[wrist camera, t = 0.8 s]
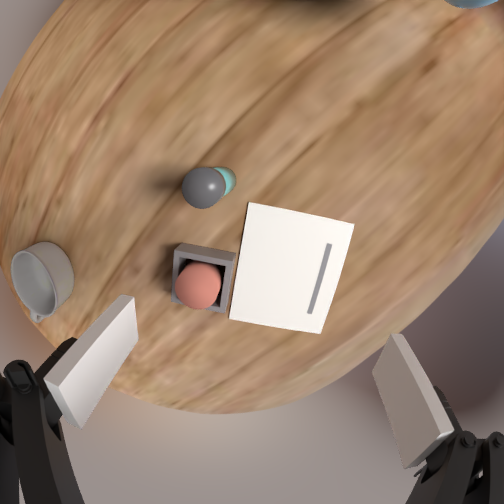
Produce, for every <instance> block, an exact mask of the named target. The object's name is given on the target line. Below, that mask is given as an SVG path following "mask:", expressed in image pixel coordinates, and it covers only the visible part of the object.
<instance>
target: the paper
mask: <svg viewBox="0 0 504 504" xmlns="http://www.w3.org/2000/svg"><path fill="white" fill-rule="evenodd" d="M353 228H354V224H352V223H347V222H343V221H339V220H334V219H330V218H325V217H321V216H316V215H312V214H307V213H302V212H297V211H293V210H288V209H283V208H278V207H273V206H267V205H262V204H257V203H251V202H249V205H248V211H247V216H246V222H245V228H244V233H243V239H242V245H241V251H240V257H239V262H238V268H237V274H236V280H235V286H234V292H233V298H232V304H231V310H230V316H229V319H234V320H239V321H244V322H249V323H255V324H261V325H266V326H272V327H278V328H284V329H291V330H297V331H304V332H311V333H319V334H320V333H321V330H322V328H323V325H324V322H325V319H326V316H327V314H328V311H329V308H330V305H331V302H332V299H333V296H334V293H335V290H336V287H337V284H338V280H339V277H340V274H341V271H342V267H343V264H344V261H345V257H346V254H347V250H348V247H349V243H350V239H351V236H352V232H353Z"/></svg>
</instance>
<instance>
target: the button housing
mask: <svg viewBox="0 0 504 504" xmlns="http://www.w3.org/2000/svg"><path fill="white" fill-rule="evenodd" d="M235 257H236V253H233V252H228V251H223V250H218V249H212V248H207V247H202V246H197V245H192V244H186V243H181V244H180V245H179V246H178V247H177V248H176V249H175V250H174V260H173V275H172V293H171V302H175V303H179V304H183V303H182V302H181V301H180V300H179V298H178V297H177V295H176V292H175V282H176V279H177V278H178V276H179V275H180V274H181V272H182V271H183V270H184V268H185V262H186V258H188V259H193V260H198V261H203V262H208V263H213V264H218V265H223V266H226V269H225V276H224V282H223V289H222V296H220V295H217V298H216V300H215V302H214V303H213V304H212V305H211V306H210V307H208V308H205V309H206V310H211V311H216V312H221V313H225V311H226V307H227V304H228V300H229V293H230V287H231V281H232V275H233V269H234V263H235ZM184 305H185V304H184Z"/></svg>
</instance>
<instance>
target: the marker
mask: <svg viewBox="0 0 504 504" xmlns="http://www.w3.org/2000/svg"><path fill="white" fill-rule="evenodd" d="M235 185H236V176H235V174H234V172H233V171H232V170H231V169H229V168H227V167H216V168H211V167H203V168H196V169H194V170H192V171H190V172H189V173H188V174H187V175H186V176H185V178H184V180H183V183H182V193H183V196H184V198H185V200H186V201H187V202H188V203H189V204H190V205H191V206H193V207H195V208H200V209H204V208H209V207H211V206H213V205H214V204H215V203H217V202H218V201H219V200H220V199H221V198H222V197H223V196H225V195H226V194H227V193H229V192H230V191H232V190H233V188H234V187H235Z"/></svg>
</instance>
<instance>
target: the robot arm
mask: <svg viewBox="0 0 504 504" xmlns="http://www.w3.org/2000/svg"><path fill="white" fill-rule="evenodd" d="M445 1H446V2H447V3H449V4H451V5H453V6H455V7H459V8H467V9H473V8H479V7H483V6H487V5H489V4H492V3H494V2H496V1H498V0H445ZM138 340H139V339H138V331H137V322H136V313H135V302H134V297H132V296H128V295H124V294H121V295H120V296H119V297H118V298H117V299H116V300H115V301H114V302H113V303H112V304H111V305H110V306H109V307H108V308H107V309H106V310H105V311H104V312H103V313H102V314H101V315H100V316H99V317H98V318H97V319H96V320H95V321H94V322H93V324H92V325H91V326H90V327H89V328H88V329H87V330H86V331H85V332H84V333H83V334H82V335H81V336H80V337H79V339H76V338H73V337H71V338H70V339H68V340H66V341H64V342H63V343H62V344H61V345H60V346H59V347H58V348H57V350H55V351H54V352H53V353H52V354H51V356H49V358H48V359H47V360H46V361H45V362H44V363H43V364H42V365H41V366H40V368H39V369H38V370H37V371H36V372H35V373H33V371H32V369H31V366H30V365H29V364H28V362H26V361H24V360H15V361H12V362H10V363H9V364H8V365H7V366H6V367H5V369H4V372H3V373H4V375H5V377H6V378H4V377H2V375H1V373H0V504H19V479H20V484H21V488H22V492H23V496H24V500H25V503H26V504H85V503H84V501H83V498H82V495H81V493H80V490H79V487H78V484H77V482H76V479H75V476H74V473H73V469H72V466H71V463H70V459H69V455H68V452H67V448H66V444H65V440H64V435H63V431H62V426H61V423H60V420H59V419H60V417H61V416H62V415H63V416H64V418H65V420H66V421H67V422H68V423H69V424H71V425H73V426H75V427H77V428H79V429H82V428H83V426H84V425H85V423H86V421H87V419H88V418H89V416H90V415H91V413H92V411H93V409H94V408H95V406H96V405H97V403H98V402H99V400H100V398H101V397H102V395H103V393H104V392H105V390H106V389H107V387H108V386H109V384H110V382H111V381H112V379H113V378H114V376H115V375H116V373H117V371H118V370H119V368H120V367H121V365H122V364H123V362H124V361H125V359H126V358H127V356H128V355H129V353H130V352H131V350H132V349H133V347H134V346H135V344H136V343H137V341H138ZM372 374H373V376H374V379H375V382H376V384H377V387H378V390H379V393H380V396H381V398H382V401H383V404H384V407H385V410H386V413H387V415H388V419H389V422H390V424H391V428H392V431H393V434H394V437H395V440H396V444H397V447H398V450H399V454H400V457H401V461H402V464H403V468H404V469H407V468H411V467H415V466H418V465H419V464H420V463H421V462H422V461H424V460H425V459H426V462H427V464H426V465H425V466H424V467H423V468H422V469H420V470H419V471H418V472H417V473H416V474H415V475H414V477H416V476H417V475H418V474H420V473H421V474H420V476H419V478H418V480H417V482H416V484H415V486H414V488H413V491H412V492H411V495H410V496H409V498H408V500H407V502H406V504H504V435H503V434H501V433H500V432H493V433H492V434H491V435H490V436H489V437H488V438H487V439H476V437H475V436H474V435H473V433H471V432H469V431H462V429H461V427H460V425H459V423H458V421H457V419H456V417H455V415H454V413H453V411H452V409H451V408H450V405H449V403H448V402H447V400H446V398H445V396H444V394H443V392H442V391H441V390H440V389H439V388H438V387H436V386H432V385H431V383H430V381H429V379H428V377H427V376H426V374H425V373H424V370H423V369H422V367H421V365H420V363H419V362H418V360H417V358H416V356H415V355H414V353H413V351H412V349H411V348H410V346H409V345H408V343H407V341H406V340H405V338H404V336H403V335H402V334H390V336H389V338H388V340H387V342H386V345H385V347H384V349H383V351H382V353H381V355H380V357H379V359H378V361H377V364H376V365H375V367H374V369H373V371H372ZM482 470H483V476H481V477H480V478H479V473H480V472H481V471H482Z"/></svg>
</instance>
